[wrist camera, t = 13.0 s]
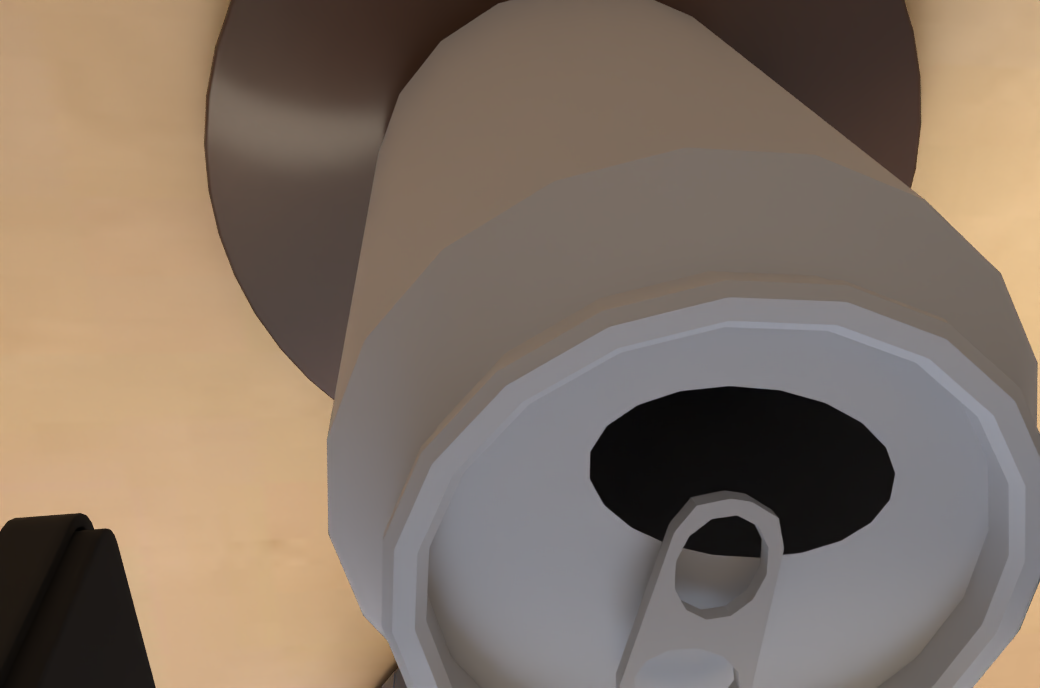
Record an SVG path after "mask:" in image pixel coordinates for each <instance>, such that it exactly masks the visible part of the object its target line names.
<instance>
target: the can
mask: <svg viewBox="0 0 1040 688" xmlns="http://www.w3.org/2000/svg"><path fill="white" fill-rule="evenodd" d="M1037 364H1038V363H1037V361H1036V358H1035V356H1034V353H1033V351H1032V348H1031V346H1030V344H1029V341H1028V339H1027V336H1026V334H1025V331H1024V329H1023V326H1022V324H1021V322H1020V319H1019V317H1018V314H1017V312H1016V309H1015V307H1014V304H1013V302H1012V300H1011V297H1010V295H1009V292H1008V290H1007V287H1006V285H1005V282H1004V280H1003V278H1002V275H1001V273H1000V272H999V271H998V270H997V269H996V268H995V267H994V266H993V265H992V264H991V263H989V262H988V261H987V260H986V259H985V258H984V257H983V256H982V255H981V254H980V253H979V252H978V251H977V250H976V249H975V248H974V247H973V246H972V245H971V244H970V243H969V242H968V241H967V240H966V239H965V238H964V237H963V236H962V235H961V234H960V233H959V232H958V231H957V230H955V229H954V228H953V227H952V226H951V225H950V224H949V223H948V222H947V221H946V220H945V219H944V218H943V217H942V216H941V215H940V214H939V213H938V212H937V211H936V210H935V209H934V208H933V207H932V206H931V205H930V204H929V203H928V202H927V201H926V200H924V199H923V198H922V197H921V196H919V195H918V194H917V193H916V192H914V191H913V190H912V189H911V188H909V187H908V186H907V185H905V184H904V183H903V182H902V181H900V180H899V179H898V178H897V177H895V176H894V175H893V174H891V173H890V172H889V171H888V170H886V169H885V168H884V167H883V166H881V165H880V164H879V163H878V162H876V161H875V160H874V159H872V158H871V157H870V156H869V155H867V154H866V153H865V152H864V151H862V150H861V149H860V148H858V147H857V146H856V145H855V144H853V143H852V142H851V141H850V140H848V139H847V138H846V137H845V136H843V135H842V134H841V133H839V132H838V131H837V130H836V129H834V128H833V127H832V126H831V125H829V124H828V123H827V122H825V121H824V120H823V119H822V118H820V117H819V116H818V115H817V114H815V113H814V112H813V111H811V110H810V109H809V108H808V107H806V106H805V105H804V104H803V103H801V102H800V101H799V100H798V99H796V98H795V97H794V96H792V95H791V94H790V93H789V92H787V91H786V90H785V89H784V88H782V87H781V86H780V85H778V84H777V83H776V82H775V81H773V80H772V79H771V78H770V77H768V76H767V75H766V74H765V73H763V72H762V71H761V70H759V69H758V68H757V67H756V66H754V65H753V64H752V63H751V62H749V61H748V60H747V59H745V58H744V57H743V56H742V55H740V54H739V53H738V52H737V51H735V50H734V49H733V48H732V47H730V46H729V45H728V44H726V43H725V42H724V41H723V40H721V39H720V38H719V37H718V36H716V35H715V34H714V33H712V32H711V31H710V30H709V29H707V28H706V27H705V26H704V25H702V24H701V23H700V22H698V21H697V20H696V19H695V18H693V17H692V16H689V15H687V14H685V13H683V12H680V11H678V10H676V9H673V8H671V7H669V6H667V5H664V4H662V3H660V2H657V1H655V0H510V1H506V2H502V3H498V4H497V5H495V6H494V7H492V8H491V9H489V10H487V11H486V12H484V13H483V14H481V15H480V16H478V17H477V18H475V19H474V20H472V21H471V22H469V23H468V24H466V25H465V26H463V27H462V28H460V29H459V30H457V31H456V32H454V33H453V34H451V35H450V36H448V37H447V38H445V39H443V40H442V41H441V42H440V43H439V44H438V45H437V47H436V48H435V49H434V51H433V52H432V53H431V54H430V56H429V57H428V58H427V59H426V61H425V62H424V63H423V65H422V66H421V67H420V68H419V70H418V71H417V72H416V73H415V75H414V76H413V77H412V79H411V80H410V81H409V82H408V84H407V85H406V86H405V87H404V89H403V90H402V91H401V93H400V94H399V97H398V100H397V102H396V105H395V108H394V111H393V114H392V117H391V119H390V122H389V125H388V128H387V131H386V133H385V136H384V139H383V142H382V145H381V148H380V150H379V153H378V158H377V164H376V169H375V175H374V180H373V186H372V192H371V197H370V203H369V208H368V214H367V219H366V225H365V230H364V236H363V242H362V247H361V253H360V258H359V264H358V269H357V275H356V281H355V286H354V292H353V297H352V303H351V308H350V314H349V320H348V325H347V331H346V336H345V342H344V347H343V353H342V358H341V364H340V370H339V375H338V381H337V386H336V392H335V397H334V403H333V409H332V414H331V420H330V425H329V431H328V436H327V470H328V534H329V536H330V538H331V541H332V543H333V546H334V548H335V550H336V553H337V555H338V557H339V560H340V562H341V564H342V567H343V569H344V571H345V574H346V576H347V578H348V581H349V583H350V585H351V588H352V590H353V592H354V595H355V597H356V599H357V602H358V604H359V606H360V609H361V611H362V613H363V616H364V617H365V618H366V619H367V620H368V621H369V622H370V623H371V624H372V625H373V626H374V627H375V628H376V629H377V630H378V631H379V632H380V633H381V634H382V635H383V636H384V637H385V639H386V640H387V641H388V643H389V645H390V648H391V650H392V653H393V655H394V657H395V660H396V662H397V664H398V667H399V669H400V672H401V674H402V676H403V679H404V681H405V684H406V686H407V688H973V687H974V685H975V684H976V683H977V682H978V680H979V679H980V678H981V677H982V676H983V674H984V673H985V672H986V671H987V670H988V668H989V667H990V666H991V665H992V663H993V662H994V661H995V660H996V659H997V657H998V656H999V655H1000V654H1001V653H1002V651H1003V650H1004V649H1005V648H1006V646H1007V645H1008V644H1009V643H1010V642H1011V640H1012V639H1013V638H1014V637H1015V635H1016V634H1017V633H1018V631H1019V630H1020V628H1021V625H1022V623H1023V620H1024V618H1025V616H1026V613H1027V611H1028V608H1029V606H1030V603H1031V601H1032V599H1033V596H1034V594H1035V591H1036V589H1037V586H1038V584H1039V582H1040V433H1039V431H1038V429H1037Z"/></svg>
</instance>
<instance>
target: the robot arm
mask: <svg viewBox="0 0 1040 688" xmlns="http://www.w3.org/2000/svg"><path fill="white" fill-rule="evenodd" d="M0 688H156V687H155V684H154V680H153V676H152V672H151V668H150V665H149V661H148V657H147V653H146V650H145V646H144V642H143V638H142V634H141V631H140V627H139V623H138V619H137V616H136V612H135V608H134V604H133V600H132V597H131V593H130V589H129V585H128V581H127V578H126V574H125V570H124V566H123V563H122V559H121V555H120V551H119V547H118V544H117V541H116V538H115V535H114V534H113V532H112V531H111V530H110V529H95V530H94V528H93V525H92V522H91V521H90V520H89V518H88V517H87V516H86V515H84V514H81V513H77V514H63V515H50V516H37V517H24V518H14V519H12V520H10V521H8V522H7V523H6V524H5V526H4V527H3V528H2V529H1V531H0Z"/></svg>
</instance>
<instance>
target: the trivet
mask: <svg viewBox="0 0 1040 688" xmlns="http://www.w3.org/2000/svg"><path fill="white" fill-rule="evenodd" d="M506 1H510V0H231V2H230V5H229V8H228V11H227V14H226V17H225V20H224V23H223V26H222V29H221V32H220V35H219V37H218V40H217V43H216V46H215V51H214V57H213V62H212V67H211V73H210V78H209V83H208V89H207V94H206V112H205V134H204V148H205V159H206V170H207V180H208V191H209V195H210V199H211V203H212V208H213V212H214V216H215V220H216V225H217V229H218V233H219V236H220V239H221V242H222V244H223V247H224V249H225V252H226V255H227V257H228V260H229V263H230V265H231V268H232V270H233V273H234V276H235V278H236V279H237V281H238V283H239V285H240V287H241V289H242V291H243V292H244V294H245V296H246V298H247V300H248V302H249V303H250V305H251V307H252V309H253V311H254V313H255V314H256V316H257V317H258V319H259V320H260V321H261V323H262V324H263V325H264V327H265V328H266V330H267V331H268V332H269V334H270V335H271V337H272V338H273V339H274V341H275V342H276V343H277V345H278V346H279V348H280V349H281V350H282V351H283V352H284V353H285V354H286V355H287V356H288V358H289V359H290V360H291V361H292V362H293V363H294V364H295V365H296V366H297V367H298V368H299V369H300V370H301V371H302V372H303V374H304V375H305V376H306V377H307V378H308V379H309V380H310V381H312V382H313V383H314V384H315V385H316V386H318V387H319V388H320V389H321V390H322V391H324V392H325V393H326V394H327V395H328V396H330V397H331V398H332V399H333V400H334V397H335V392H336V386H337V381H338V375H339V370H340V364H341V358H342V353H343V347H344V342H345V336H346V331H347V325H348V320H349V314H350V308H351V303H352V297H353V292H354V286H355V281H356V275H357V269H358V264H359V258H360V253H361V247H362V242H363V236H364V230H365V225H366V219H367V214H368V208H369V203H370V197H371V192H372V186H373V180H374V175H375V169H376V164H377V158H378V153H379V150H380V148H381V145H382V142H383V139H384V136H385V133H386V131H387V128H388V125H389V122H390V119H391V117H392V114H393V111H394V108H395V105H396V102H397V100H398V97H399V94H400V93H401V91H402V90H403V89H404V87H405V86H406V85H407V84H408V82H409V81H410V80H411V79H412V77H413V76H414V75H415V73H416V72H417V71H418V70H419V68H420V67H421V66H422V65H423V63H424V62H425V61H426V59H427V58H428V57H429V56H430V54H431V53H432V52H433V51H434V49H435V48H436V47H437V45H438V44H439V43H440V42H441V41H442V40H443V39H445V38H447V37H448V36H450V35H451V34H453V33H454V32H456V31H457V30H459V29H460V28H462V27H463V26H465V25H466V24H468V23H469V22H471V21H472V20H474V19H475V18H477V17H478V16H480V15H481V14H483V13H484V12H486V11H487V10H489V9H491V8H492V7H494V6H495V5H497V4H498V3H502V2H506ZM655 1H657V2H660V3H662V4H664V5H667V6H669V7H671V8H673V9H676V10H678V11H680V12H683V13H685V14H687V15H689V16H692V17H693V18H695V19H696V20H697V21H698V22H700V23H701V24H702V25H704V26H705V27H706V28H707V29H709V30H710V31H711V32H712V33H714V34H715V35H716V36H718V37H719V38H720V39H721V40H723V41H724V42H725V43H726V44H728V45H729V46H730V47H732V48H733V49H734V50H735V51H737V52H738V53H739V54H740V55H742V56H743V57H744V58H745V59H747V60H748V61H749V62H751V63H752V64H753V65H754V66H756V67H757V68H758V69H759V70H761V71H762V72H763V73H765V74H766V75H767V76H768V77H770V78H771V79H772V80H773V81H775V82H776V83H777V84H778V85H780V86H781V87H782V88H784V89H785V90H786V91H787V92H789V93H790V94H791V95H792V96H794V97H795V98H796V99H798V100H799V101H800V102H801V103H803V104H804V105H805V106H806V107H808V108H809V109H810V110H811V111H813V112H814V113H815V114H817V115H818V116H819V117H820V118H822V119H823V120H824V121H825V122H827V123H828V124H829V125H831V126H832V127H833V128H834V129H836V130H837V131H838V132H839V133H841V134H842V135H843V136H845V137H846V138H847V139H848V140H850V141H851V142H852V143H853V144H855V145H856V146H857V147H858V148H860V149H861V150H862V151H864V152H865V153H866V154H867V155H869V156H870V157H871V158H872V159H874V160H875V161H876V162H878V163H879V164H880V165H881V166H883V167H884V168H885V169H886V170H888V171H889V172H890V173H891V174H893V175H894V176H895V177H897V178H898V179H899V180H900V181H902V182H903V183H904V184H905V185H907V186H908V187H909V188H911V186H912V181H913V177H914V173H915V169H916V162H917V154H918V145H919V137H920V128H921V82H920V71H919V64H918V57H917V51H916V44H915V38H914V31H913V27H912V24H911V21H910V17H909V14H908V11H907V7H906V4H905V0H655Z"/></svg>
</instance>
